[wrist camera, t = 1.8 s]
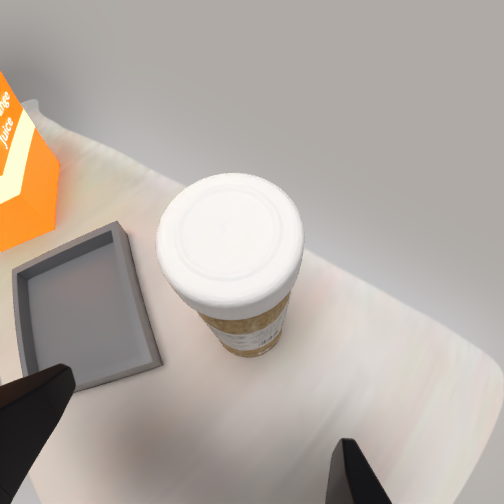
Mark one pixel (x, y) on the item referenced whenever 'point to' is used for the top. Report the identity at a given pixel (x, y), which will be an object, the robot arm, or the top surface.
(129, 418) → the top surface
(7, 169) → the orange juice
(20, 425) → the robot arm
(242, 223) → the spice shaker
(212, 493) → the top surface
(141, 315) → the tray
